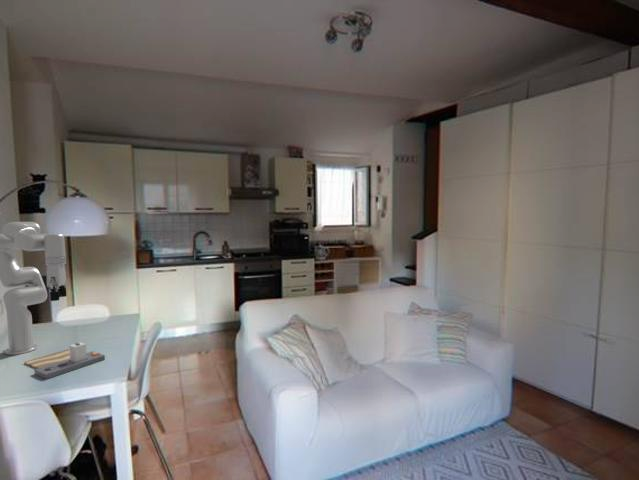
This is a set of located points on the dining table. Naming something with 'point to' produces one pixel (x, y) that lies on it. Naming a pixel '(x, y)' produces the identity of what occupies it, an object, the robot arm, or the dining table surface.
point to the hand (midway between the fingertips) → (58, 298)
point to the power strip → (67, 365)
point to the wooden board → (49, 359)
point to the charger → (77, 352)
